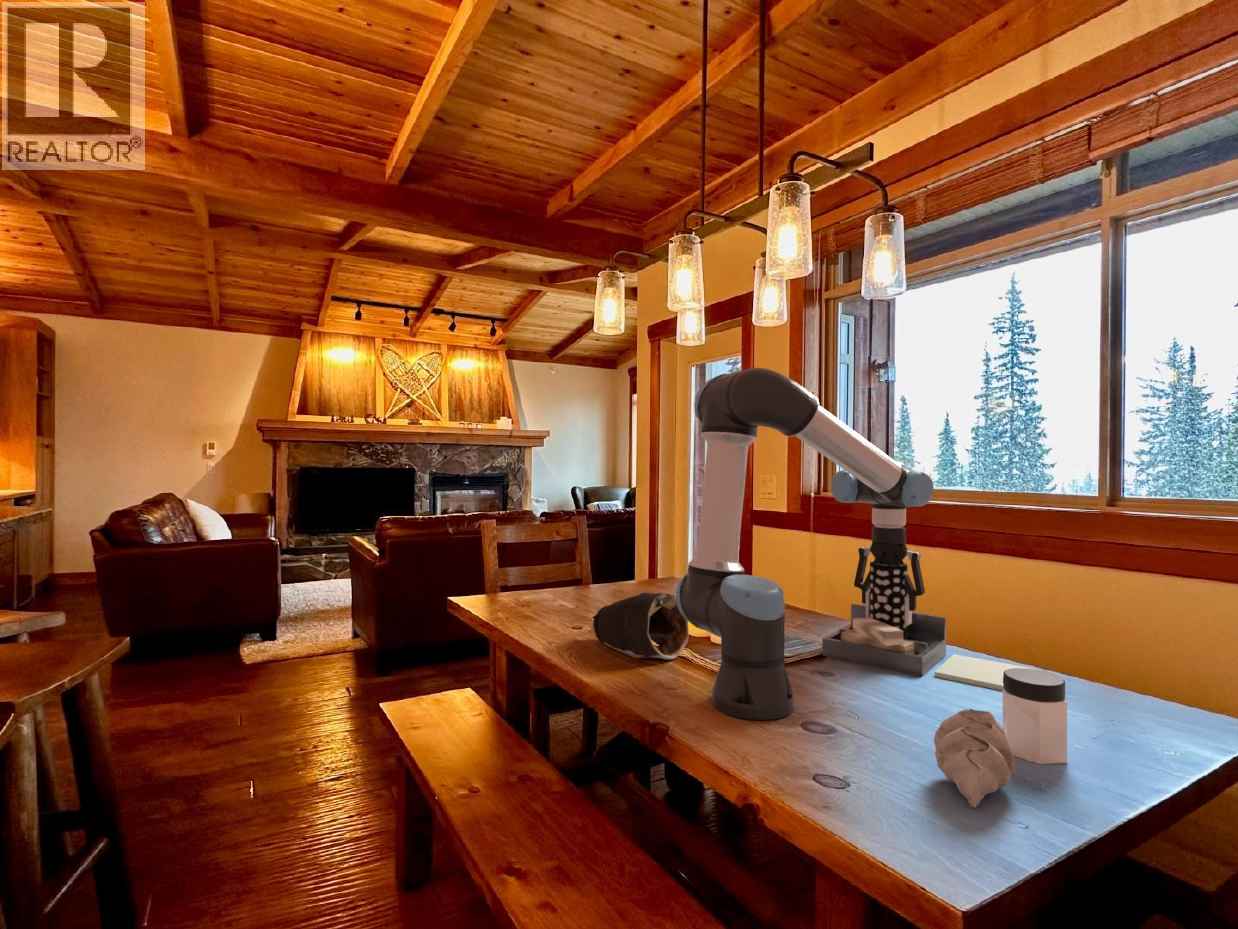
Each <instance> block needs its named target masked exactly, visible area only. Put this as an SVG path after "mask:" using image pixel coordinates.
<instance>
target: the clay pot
mask: <svg viewBox="0 0 1238 929" xmlns="http://www.w3.org/2000/svg"><path fill="white" fill-rule="evenodd" d="M591 617H592V619H593V622H592V627H593V631H594V635H595V638H596V639H597V640H598V641H600V642H601V643H602V644H603V645H605V646H606V647H609V648H611V649H614V650H615V651H617V652H620V653H623V654H624V655H626V656H627V655H628V656H630V657H632V658H636V659H641V658H642V659H643V658H644V659H650V658H651V659H653V658H654V659H663V660H673V659H676V658H678V656H679V654H681V653H682V651H683V650H684V649H685V648H686V645H687V644H688V642H689V635H690V634H689V631H690V630H689V622H688V621H687V620H686V619H685V618H684V617H683V616H682V615H681V613H680V611H679V609H678V607H677V603H676V595H675V594H672V593H667V592H658V593H650V592H641V593H640V594H637V595H633V596H630V597H626V598H624V599H621V600H617V601H616V602H613V603H611V604H609V605H605V606H603V607H601V608H600V609H599V610H598V611H597V613H596V614H595V615H593V616H591ZM654 643H655V644H656V645H657V646H658V648H657V647H656V646H655V645H654Z"/></svg>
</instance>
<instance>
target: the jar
mask: <svg viewBox="0 0 1238 929" xmlns="http://www.w3.org/2000/svg"><path fill="white" fill-rule="evenodd" d="M1034 669H1035V668H1033V669H1025V668H1012V669H1007V670H1005V671H1004V674H1003V684H1004V685H1003V691H1002V728H1003V729H1004V732H1005V735H1006V738H1007V740H1008V743H1009V746H1010V749H1011V751H1012V753H1013V756H1014V757H1016V758H1019V759H1022V760H1024V761H1027V762H1031V763H1032V764H1033V763H1034V764H1036V765H1052V764H1053V765H1055V764H1056V765H1057V764H1067V763H1068V702H1067V700H1066V680H1064V678H1062V677H1061V676H1058V675H1056V674H1054V673H1052V672H1048V671H1044V670H1038V669H1036V670H1034Z"/></svg>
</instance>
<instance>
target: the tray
mask: <svg viewBox="0 0 1238 929" xmlns="http://www.w3.org/2000/svg"><path fill="white" fill-rule="evenodd" d="M854 618H866V604H861V603H854V602H852V603H850V624H848V625H846V626H843V627H840V628H839V629H838V630H836V631H834V632H832V633H830V634H828V635H827V636H825V637H823V638H822V640H821V641H822V646H821V647H822V648H821V649H822V654H821V655H822V656H825V657H828V658H833V659H839V660H842V661H846V662H847V661H848V662H853V663H857V664H863V665H866V666H872V667H876V668H881V669H882V668H883V669H884V670H885V669H886V670H890V671H896V672H901V673H905V674H908V675H909V674H910V675H914V676H921V677H924V675H926V674H927V673H928V672H929V671H930V670H931V669H932V668H934V667H935V666H936V665H937V664H938V663H940V661H942V659H943V658H944V657H946V656H947V616H941V615H934V614H930V613H929V614H928V613H922V612H916V611H912V623H911V624H910V625H907V639H903V640H905V641H910V642H914V654H910V653H905V652H899V651H894V650H889V649H883V648H878V647H873V646H867V645H862V644H857V643H852V642H846V641H841V632H844V631H846V630H849V629H852V630H853V619H854Z"/></svg>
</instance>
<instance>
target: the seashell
mask: <svg viewBox="0 0 1238 929" xmlns="http://www.w3.org/2000/svg"><path fill="white" fill-rule="evenodd" d="M933 743H934V746H935V753H934V754H935V758H936V763H937V764H936V765H937V767H938V768H939V770H940V771H941V772H942V773H943V774H944V776H945V777H946V779H947V780H949V781H951V782H953V783H954V784H955V785H956V787H957V789H958V791H959V792H960V794H961V795H962V796H963V797H964V798H965V799H966V800H967V802H968V804H969V806H970V807H971V808H975V809H977V808H978V806H979V805H980V804H981V803H980V802H981V801H982V800H983V799H984V797H985V796H986V795H988V794H992V793H993V794H994V793H995V792H996V791H997V790H998V789H999V790H1000V789H1002V788H1003V787H1006V786H1007V785H1008V784H1009V783H1010V781H1011V777H1012V776H1013V774H1014V772H1015V769H1016V764H1017V763H1016V759H1015V756H1013V753H1012V751H1011V749H1010V746H1009V743H1008V740H1007V738H1006V735H1005V732H1004V729H1003V726H1001V725H1000V723H999V722H998V721H997V720H996V718H995V716H994V715H993V713H992V712H991V711H986V710H978V709H972V708H970V709H968V708H965V709H962V710H959V711H957V713H956V712H955V714H953V715H952V716H949V717H947V718H945V719H943V721H942V722H941V724H940V725H939V727H938V728H937V730H936V731H935V733H934V737H933Z"/></svg>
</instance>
